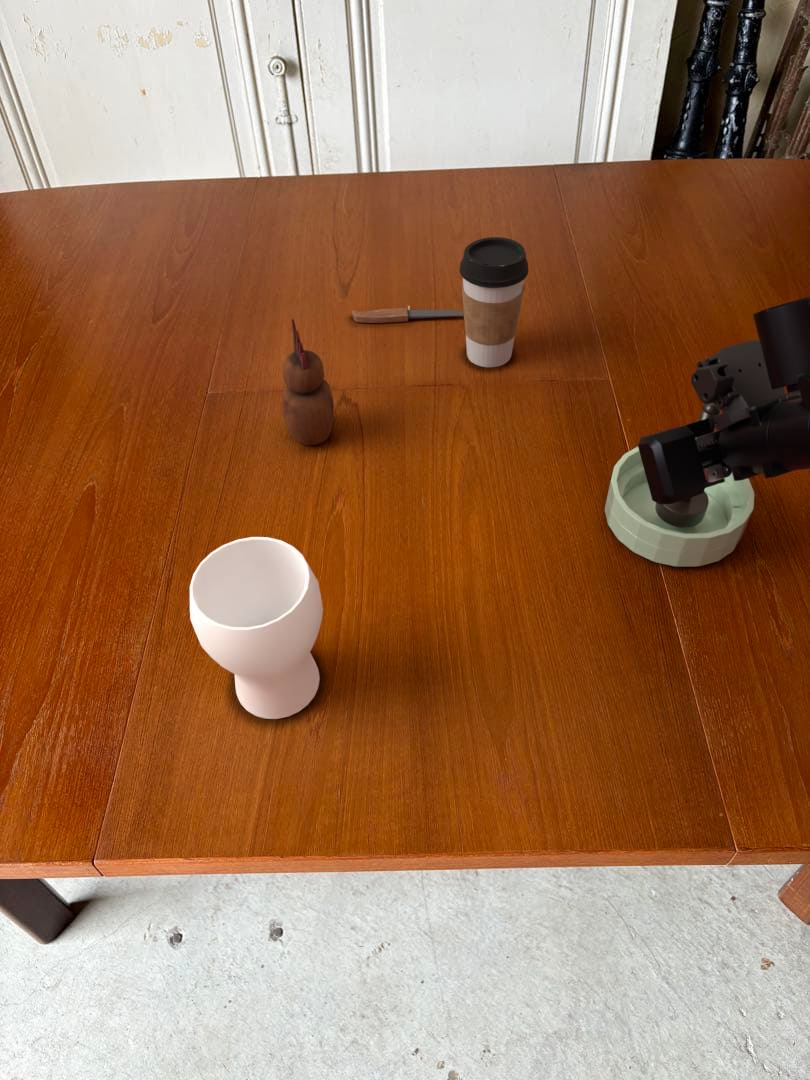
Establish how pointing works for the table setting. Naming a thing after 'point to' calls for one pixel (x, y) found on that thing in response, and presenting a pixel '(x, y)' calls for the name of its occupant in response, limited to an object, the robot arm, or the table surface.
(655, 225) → the table surface
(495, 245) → the coffee cup
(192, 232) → the table surface
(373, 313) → the knife
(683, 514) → the joystick
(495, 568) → the table surface
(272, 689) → the cup
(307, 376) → the wooden figurine
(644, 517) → the mixing bowl
